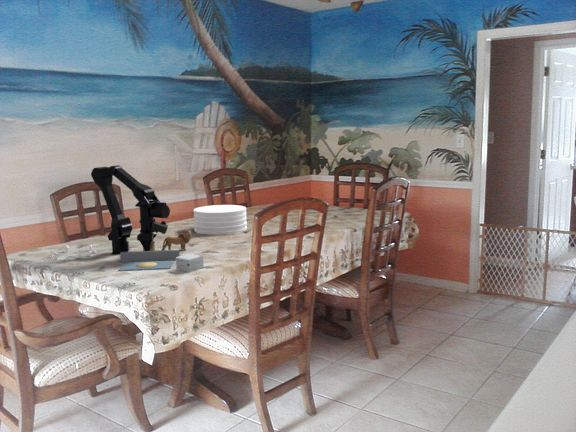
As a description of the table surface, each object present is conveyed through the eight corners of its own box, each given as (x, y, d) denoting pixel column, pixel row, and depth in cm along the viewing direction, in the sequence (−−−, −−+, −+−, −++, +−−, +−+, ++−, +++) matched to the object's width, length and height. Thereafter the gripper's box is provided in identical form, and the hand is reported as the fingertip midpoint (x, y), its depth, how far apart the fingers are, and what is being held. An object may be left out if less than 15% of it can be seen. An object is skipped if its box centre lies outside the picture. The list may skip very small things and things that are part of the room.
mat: (118, 271, 216) (118, 269, 216) (124, 263, 228) (124, 262, 228) (170, 268, 218) (170, 267, 218) (173, 261, 230) (173, 259, 230)
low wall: (120, 262, 230) (120, 252, 230) (121, 261, 231) (120, 252, 231) (179, 259, 232) (178, 250, 232) (179, 259, 233) (179, 249, 233)
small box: (175, 269, 217) (175, 257, 216) (190, 265, 223) (190, 253, 222) (189, 272, 212) (188, 259, 211) (204, 268, 218) (203, 255, 217)
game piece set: (50, 253, 251) (49, 245, 251) (96, 249, 258) (96, 241, 258) (48, 263, 233) (47, 254, 233) (98, 258, 240) (97, 249, 240)
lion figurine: (190, 247, 255) (189, 228, 254) (194, 249, 251) (193, 230, 249) (158, 251, 248) (157, 232, 247) (162, 254, 244) (161, 233, 242)
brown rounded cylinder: (142, 256, 239) (141, 243, 238) (144, 254, 244) (143, 240, 243) (154, 256, 239) (153, 242, 238) (156, 253, 244) (155, 240, 243)
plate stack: (244, 234, 284) (243, 212, 282) (189, 235, 284) (188, 213, 283) (249, 224, 311) (248, 204, 310) (199, 225, 312) (198, 205, 310)
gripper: (162, 220, 230) (165, 256, 233) (168, 213, 249) (170, 247, 251) (135, 221, 229) (138, 257, 232) (143, 213, 248) (145, 248, 250)
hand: (149, 252), depth 241 cm, fingers closed on brown rounded cylinder, 5 cm apart
